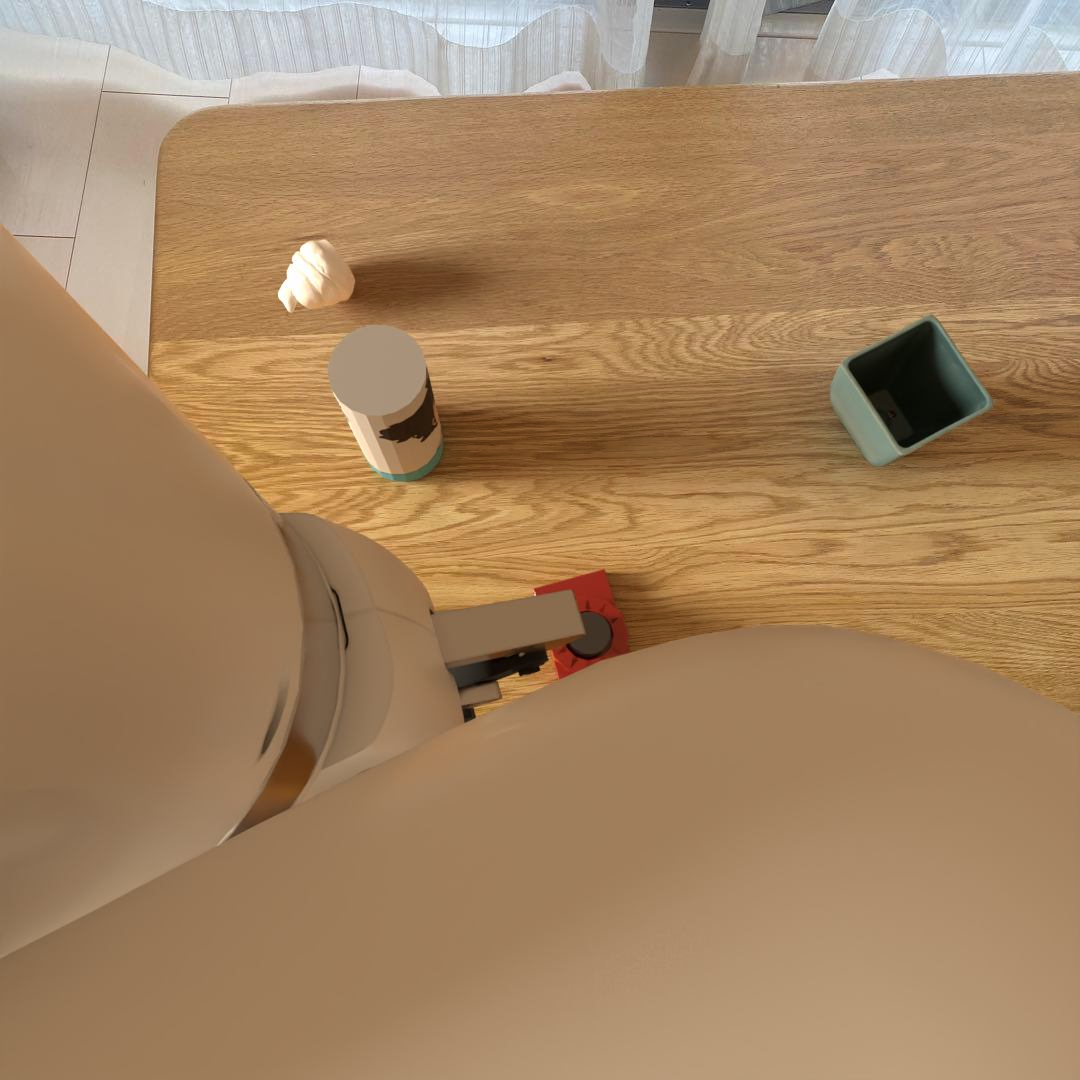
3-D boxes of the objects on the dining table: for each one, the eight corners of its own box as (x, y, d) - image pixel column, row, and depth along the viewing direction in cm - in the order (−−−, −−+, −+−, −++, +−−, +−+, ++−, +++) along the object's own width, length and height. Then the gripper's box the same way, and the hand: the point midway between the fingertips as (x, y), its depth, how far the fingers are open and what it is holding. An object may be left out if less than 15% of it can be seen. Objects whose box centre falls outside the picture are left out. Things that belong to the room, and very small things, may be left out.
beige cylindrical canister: (460, 445, 78) (447, 372, 64) (400, 498, 77) (372, 435, 62) (407, 390, 79) (382, 305, 65) (346, 441, 78) (307, 366, 64)
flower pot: (859, 492, 78) (902, 457, 69) (803, 404, 80) (838, 360, 71) (946, 445, 79) (998, 405, 70) (888, 360, 81) (933, 311, 72)
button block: (640, 690, 74) (645, 687, 71) (566, 712, 73) (568, 709, 70) (604, 571, 76) (607, 563, 73) (532, 591, 75) (532, 584, 73)
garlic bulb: (271, 296, 81) (253, 264, 76) (325, 256, 82) (312, 221, 77) (309, 340, 80) (294, 310, 75) (364, 299, 81) (353, 267, 76)
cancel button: (613, 650, 72) (616, 647, 70) (573, 661, 72) (575, 658, 70) (601, 610, 73) (603, 607, 71) (562, 621, 72) (563, 618, 71)
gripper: (-489, 1094, 13) (75, 907, 30) (687, 751, 15) (595, 756, 31) (-504, 584, 15) (38, 678, 31) (555, 323, 16) (535, 545, 33)
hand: (316, 717), depth 31 cm, fingers open, 9 cm apart
